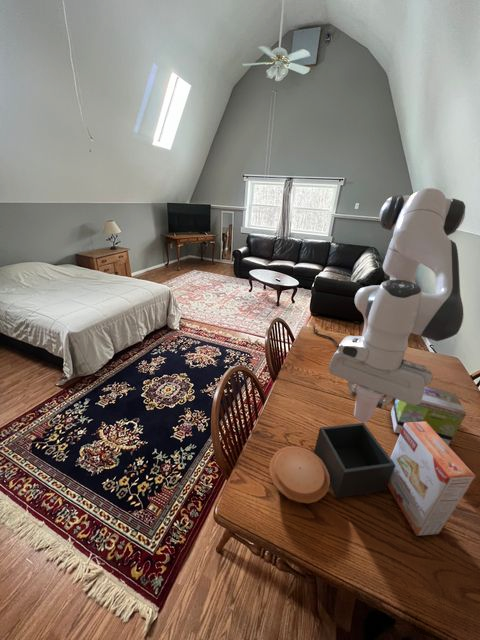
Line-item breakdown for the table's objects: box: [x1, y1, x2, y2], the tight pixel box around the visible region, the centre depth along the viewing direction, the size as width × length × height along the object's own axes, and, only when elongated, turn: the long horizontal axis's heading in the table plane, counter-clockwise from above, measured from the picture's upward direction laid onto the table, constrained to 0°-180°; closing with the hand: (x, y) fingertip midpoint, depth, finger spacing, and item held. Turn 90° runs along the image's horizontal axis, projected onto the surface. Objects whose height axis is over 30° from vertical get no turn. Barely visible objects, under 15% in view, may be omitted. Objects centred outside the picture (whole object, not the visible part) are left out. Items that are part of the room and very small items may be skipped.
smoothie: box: [353, 383, 386, 423], centre depth 65 cm, size 6×6×14 cm
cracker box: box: [386, 422, 476, 537], centre depth 62 cm, size 14×6×21 cm, turn 5°
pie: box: [268, 445, 331, 504], centre depth 70 cm, size 16×16×5 cm
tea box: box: [390, 385, 467, 446], centre depth 85 cm, size 15×10×15 cm, turn 68°
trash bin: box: [313, 422, 395, 499], centre depth 72 cm, size 14×14×10 cm
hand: (366, 400), depth 66 cm, fingers closed on smoothie, 5 cm apart
